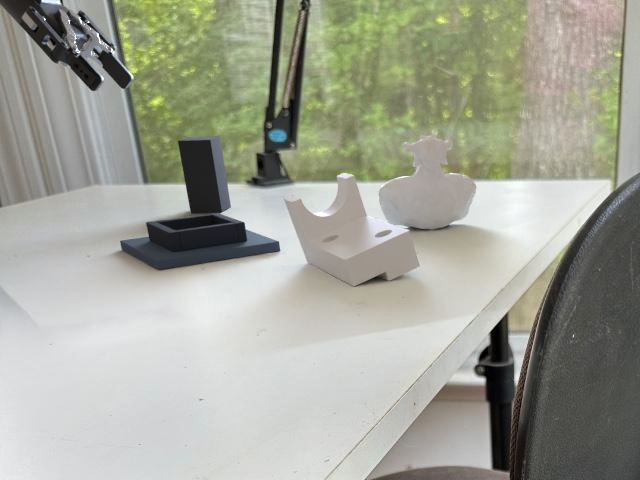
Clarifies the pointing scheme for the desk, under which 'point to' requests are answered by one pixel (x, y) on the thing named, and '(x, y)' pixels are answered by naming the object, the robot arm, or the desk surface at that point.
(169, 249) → the base pad
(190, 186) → the tall black rectangular peg
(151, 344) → the desk surface
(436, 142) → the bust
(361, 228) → the bracket
